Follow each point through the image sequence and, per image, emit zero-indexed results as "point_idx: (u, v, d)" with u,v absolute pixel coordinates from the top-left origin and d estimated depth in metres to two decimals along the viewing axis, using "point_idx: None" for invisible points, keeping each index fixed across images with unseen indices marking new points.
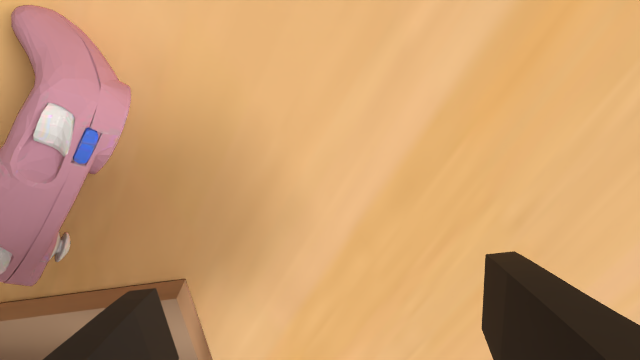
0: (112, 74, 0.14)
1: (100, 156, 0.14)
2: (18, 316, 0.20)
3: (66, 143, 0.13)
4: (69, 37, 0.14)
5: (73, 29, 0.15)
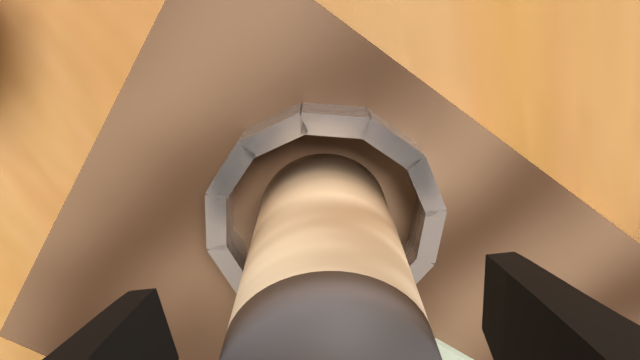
0: None
1: None
2: None
3: None
4: None
5: None
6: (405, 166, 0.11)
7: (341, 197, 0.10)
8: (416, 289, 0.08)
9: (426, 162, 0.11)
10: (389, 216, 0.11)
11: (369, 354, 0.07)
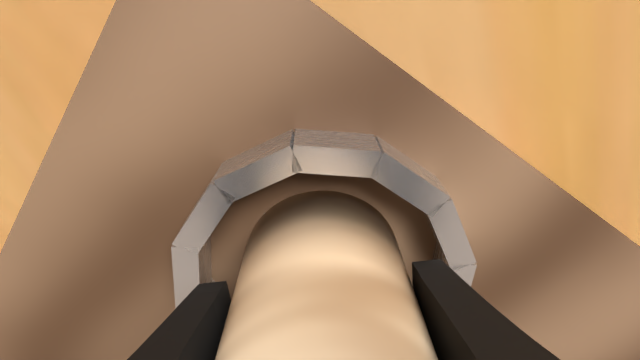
0: None
1: None
2: None
3: None
4: None
5: None
6: (426, 211, 0.09)
7: (345, 263, 0.07)
8: None
9: (452, 206, 0.09)
10: (407, 280, 0.08)
11: None
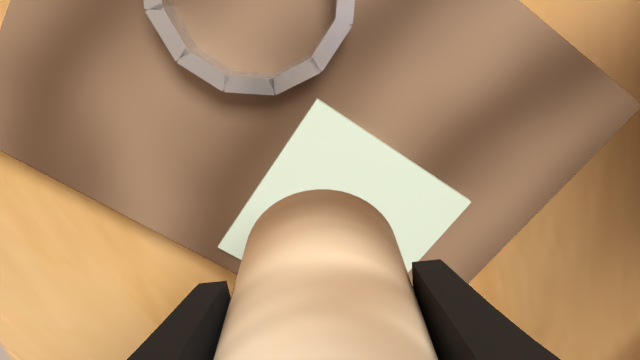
0: None
1: None
2: None
3: None
4: None
5: None
6: None
7: (344, 262, 0.07)
8: None
9: None
10: (406, 278, 0.08)
11: None
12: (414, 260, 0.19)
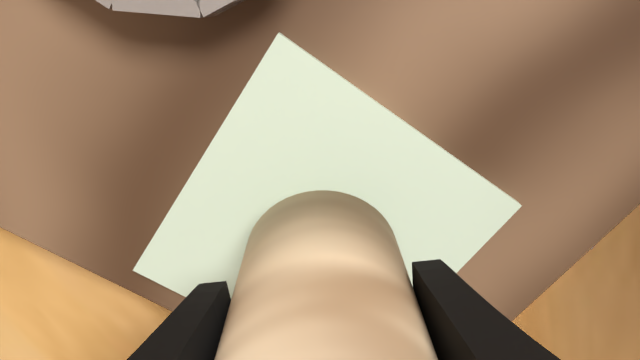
0: None
1: None
2: None
3: None
4: None
5: None
6: None
7: (345, 263, 0.07)
8: None
9: None
10: (406, 279, 0.08)
11: None
12: None
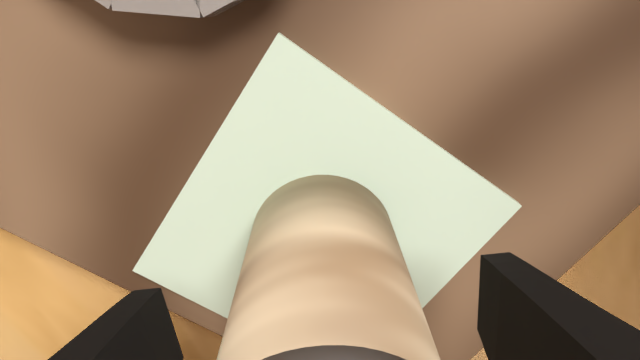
0: None
1: None
2: None
3: None
4: None
5: None
6: None
7: (343, 234, 0.08)
8: (437, 354, 0.07)
9: None
10: (399, 251, 0.09)
11: None
12: (431, 292, 0.13)
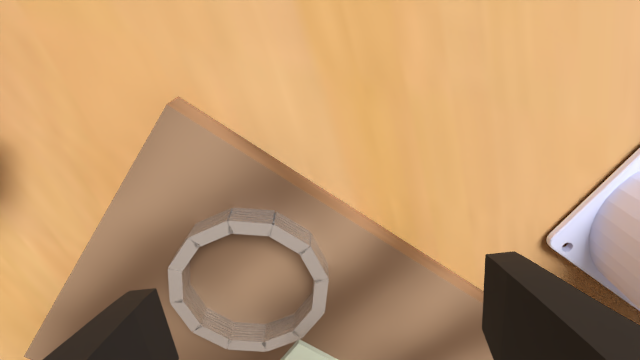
0: None
1: None
2: None
3: None
4: None
5: None
6: (298, 252, 0.18)
7: None
8: None
9: (311, 250, 0.18)
10: None
11: None
12: None
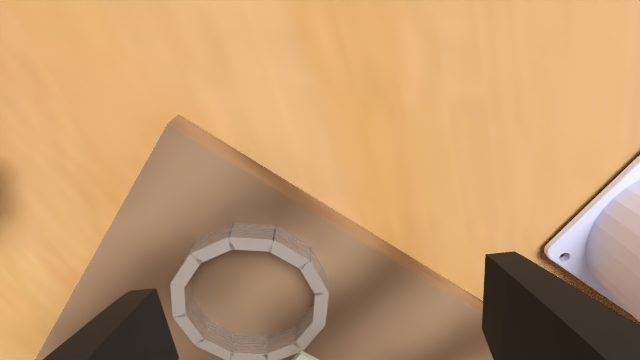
0: None
1: None
2: None
3: None
4: None
5: None
6: (298, 267, 0.18)
7: None
8: None
9: (311, 264, 0.18)
10: None
11: None
12: None
